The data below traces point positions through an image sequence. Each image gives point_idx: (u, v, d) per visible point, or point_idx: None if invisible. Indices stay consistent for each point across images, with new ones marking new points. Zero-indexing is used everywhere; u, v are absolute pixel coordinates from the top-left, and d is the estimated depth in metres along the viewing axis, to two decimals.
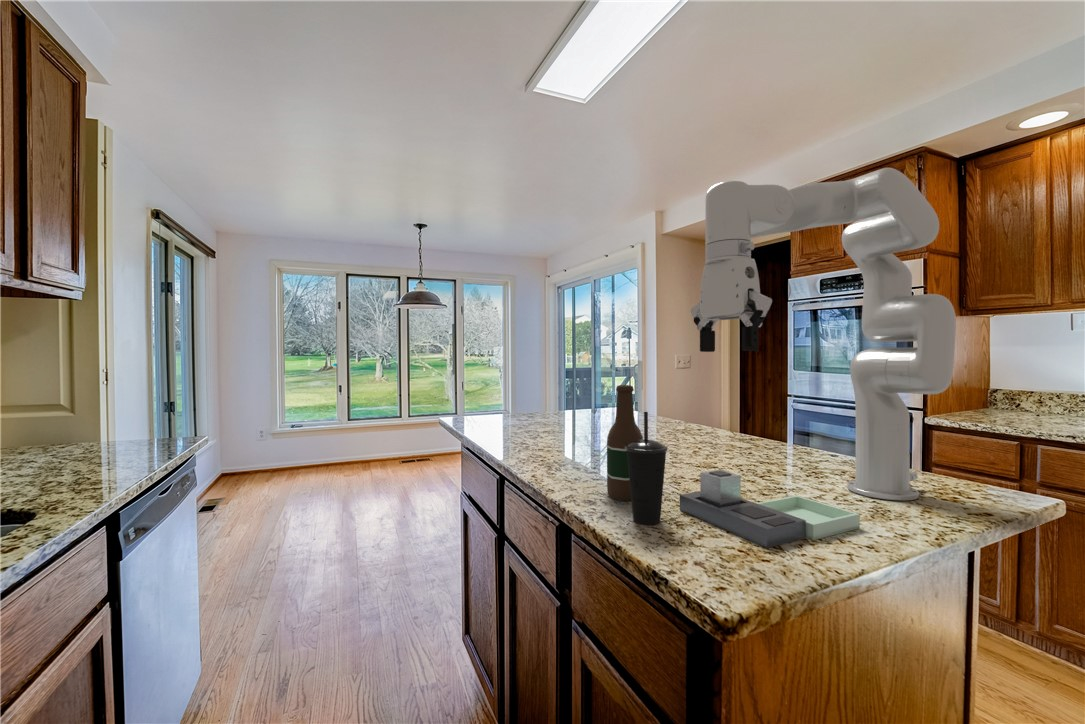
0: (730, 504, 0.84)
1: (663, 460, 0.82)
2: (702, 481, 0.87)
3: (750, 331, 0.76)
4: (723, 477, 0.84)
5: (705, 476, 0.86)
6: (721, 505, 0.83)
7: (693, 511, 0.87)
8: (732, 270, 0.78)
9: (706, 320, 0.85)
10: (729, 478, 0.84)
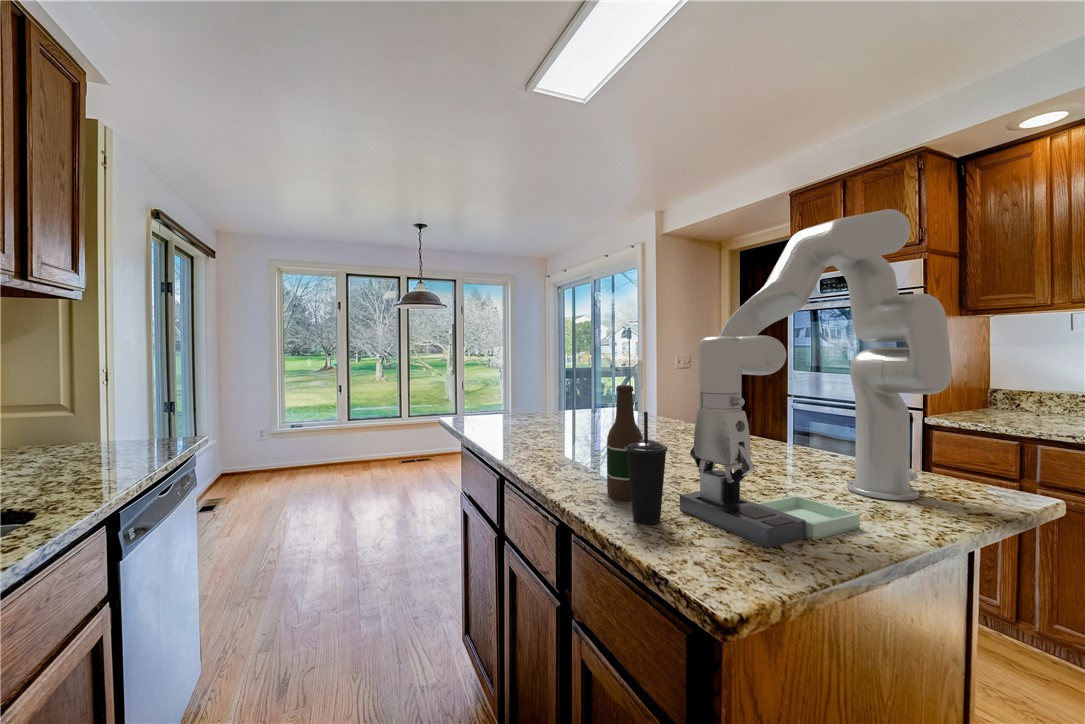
0: (730, 504, 0.84)
1: (663, 460, 0.82)
2: (702, 481, 0.87)
3: (732, 487, 0.83)
4: (723, 476, 0.84)
5: (705, 476, 0.86)
6: (721, 505, 0.83)
7: (693, 511, 0.87)
8: (723, 423, 0.83)
9: (705, 463, 0.88)
10: None
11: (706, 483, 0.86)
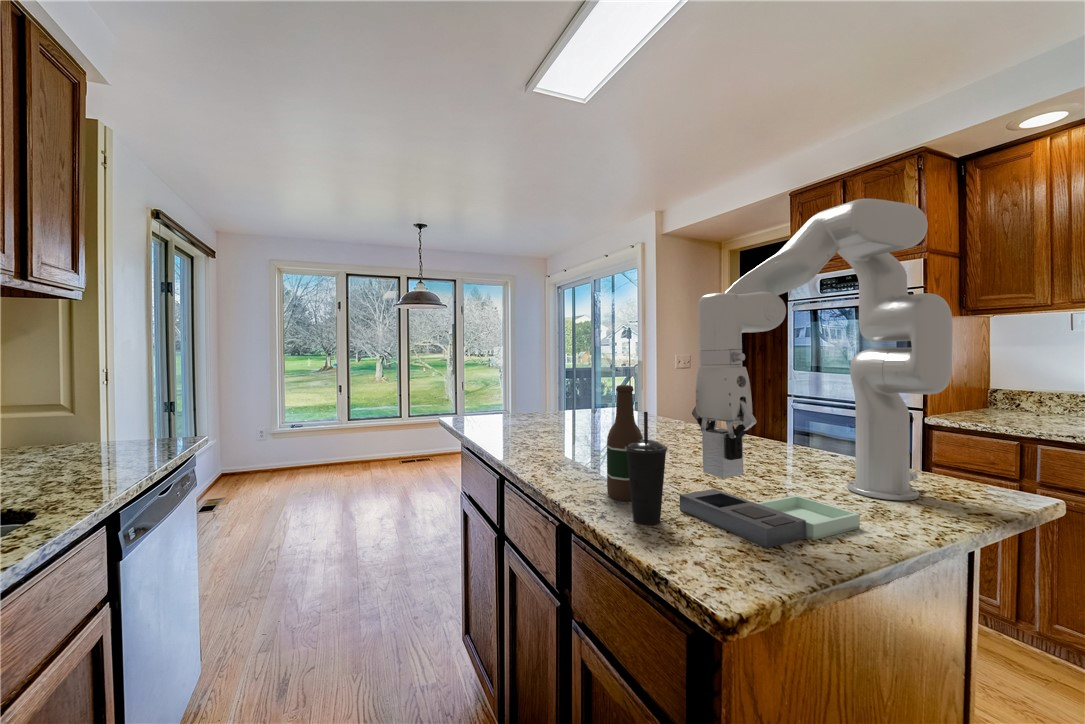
0: (732, 460, 0.84)
1: (663, 460, 0.82)
2: (704, 439, 0.87)
3: (734, 442, 0.83)
4: (725, 433, 0.84)
5: (707, 434, 0.87)
6: (723, 461, 0.83)
7: (693, 511, 0.87)
8: (724, 379, 0.83)
9: (707, 421, 0.88)
10: None
11: (708, 441, 0.86)
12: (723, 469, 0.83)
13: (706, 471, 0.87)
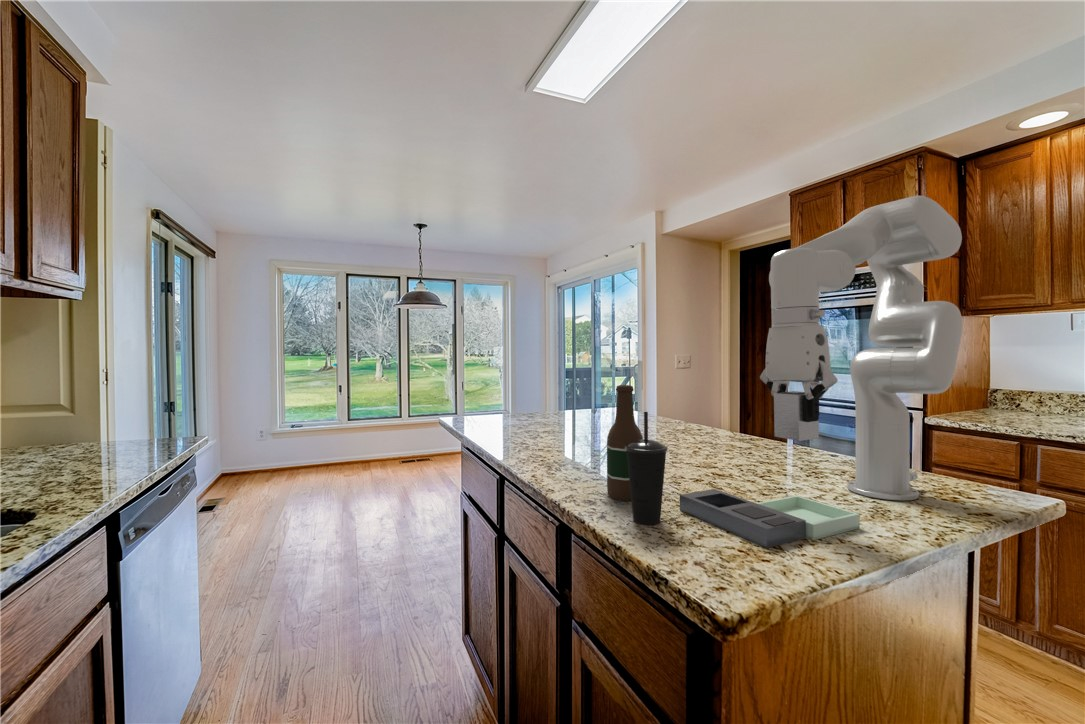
0: (808, 422, 0.81)
1: (663, 460, 0.82)
2: (776, 402, 0.84)
3: (811, 403, 0.80)
4: (800, 394, 0.81)
5: (780, 396, 0.83)
6: (799, 423, 0.80)
7: (693, 511, 0.87)
8: (802, 337, 0.79)
9: (779, 384, 0.85)
10: None
11: (781, 403, 0.83)
12: (799, 431, 0.80)
13: (778, 435, 0.84)
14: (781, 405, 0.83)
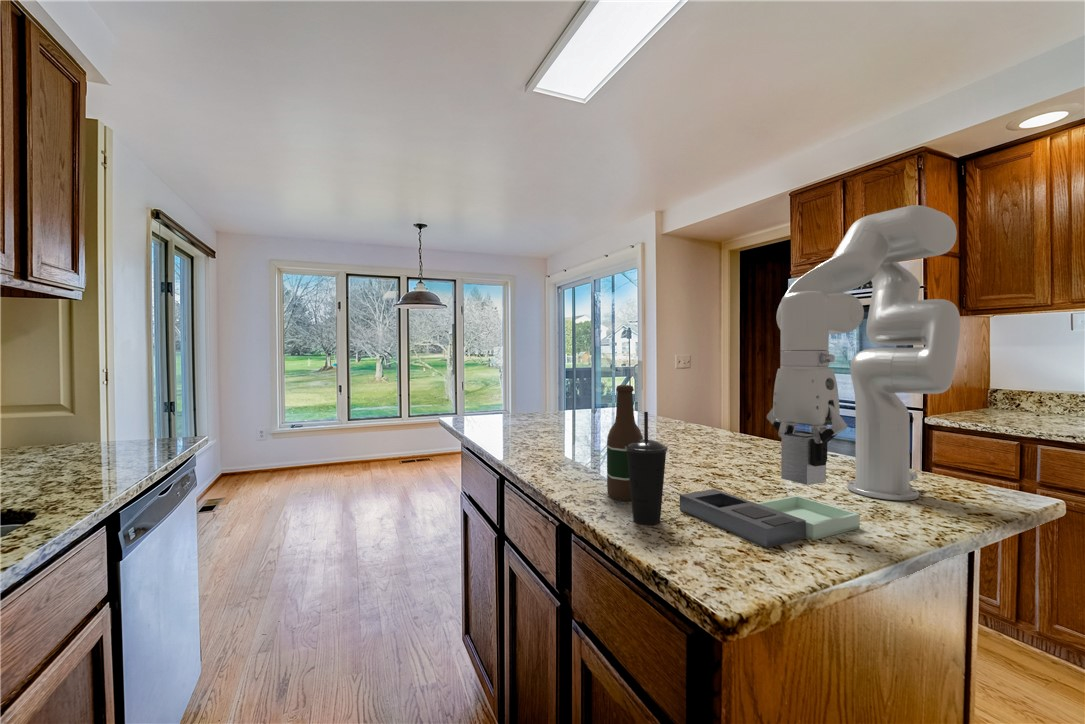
0: (816, 466, 0.80)
1: (663, 460, 0.82)
2: (784, 443, 0.83)
3: (819, 448, 0.79)
4: (809, 437, 0.80)
5: (788, 438, 0.83)
6: (808, 467, 0.79)
7: (693, 511, 0.87)
8: (811, 381, 0.79)
9: (786, 425, 0.84)
10: None
11: (789, 445, 0.82)
12: (807, 475, 0.79)
13: (785, 477, 0.83)
14: (789, 447, 0.82)
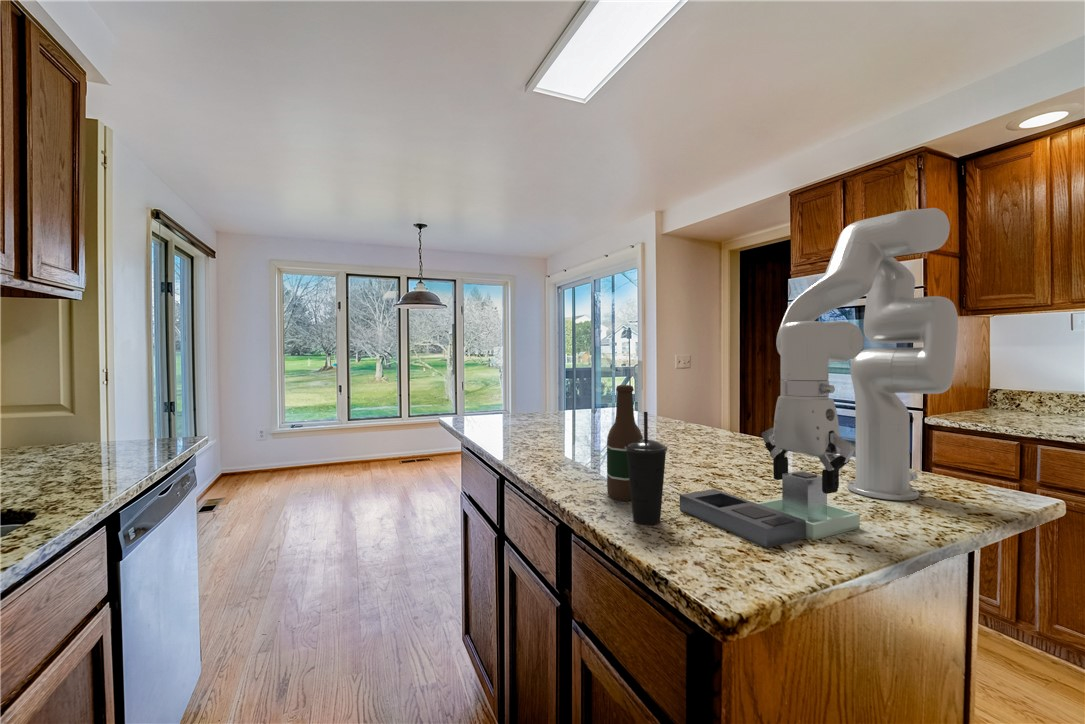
0: (817, 507, 0.81)
1: (663, 460, 0.82)
2: (784, 483, 0.84)
3: (831, 475, 0.78)
4: (810, 478, 0.81)
5: (789, 478, 0.83)
6: (808, 508, 0.80)
7: (693, 511, 0.87)
8: (812, 411, 0.79)
9: (780, 450, 0.86)
10: (816, 480, 0.81)
11: (790, 485, 0.83)
12: (808, 516, 0.80)
13: None
14: (790, 487, 0.83)
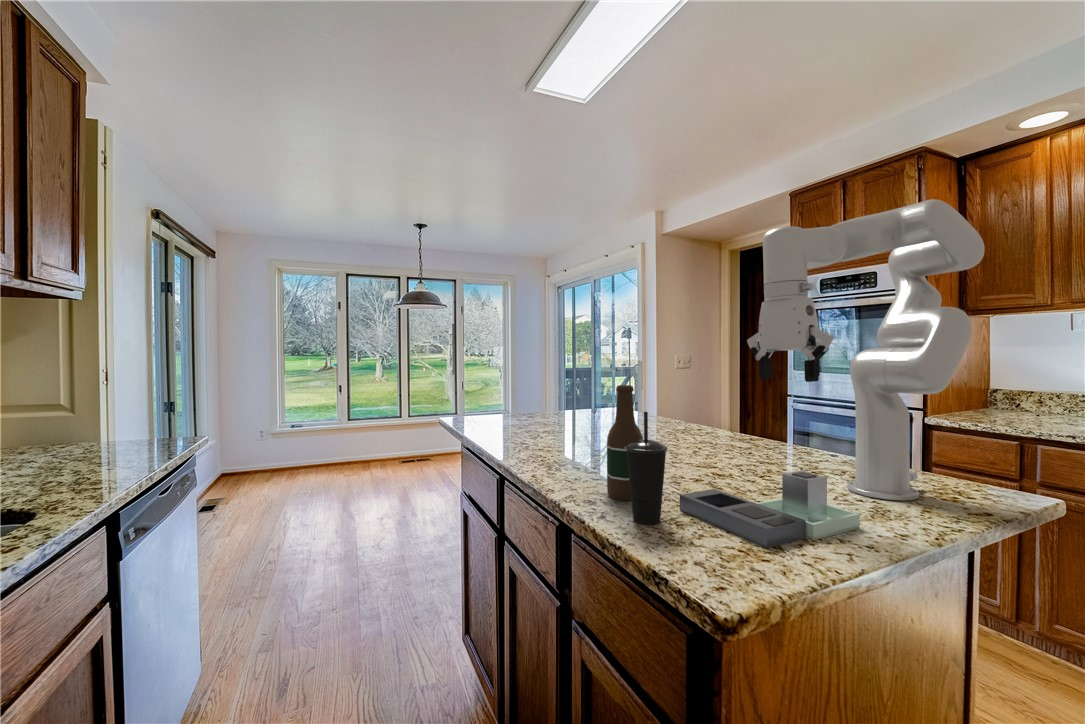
0: (817, 507, 0.81)
1: (663, 460, 0.82)
2: (784, 483, 0.84)
3: (812, 364, 0.85)
4: (810, 478, 0.81)
5: (789, 478, 0.83)
6: (808, 508, 0.80)
7: (693, 511, 0.87)
8: (793, 308, 0.86)
9: (765, 351, 0.93)
10: (816, 480, 0.81)
11: (790, 485, 0.83)
12: (808, 516, 0.80)
13: None
14: (790, 487, 0.83)
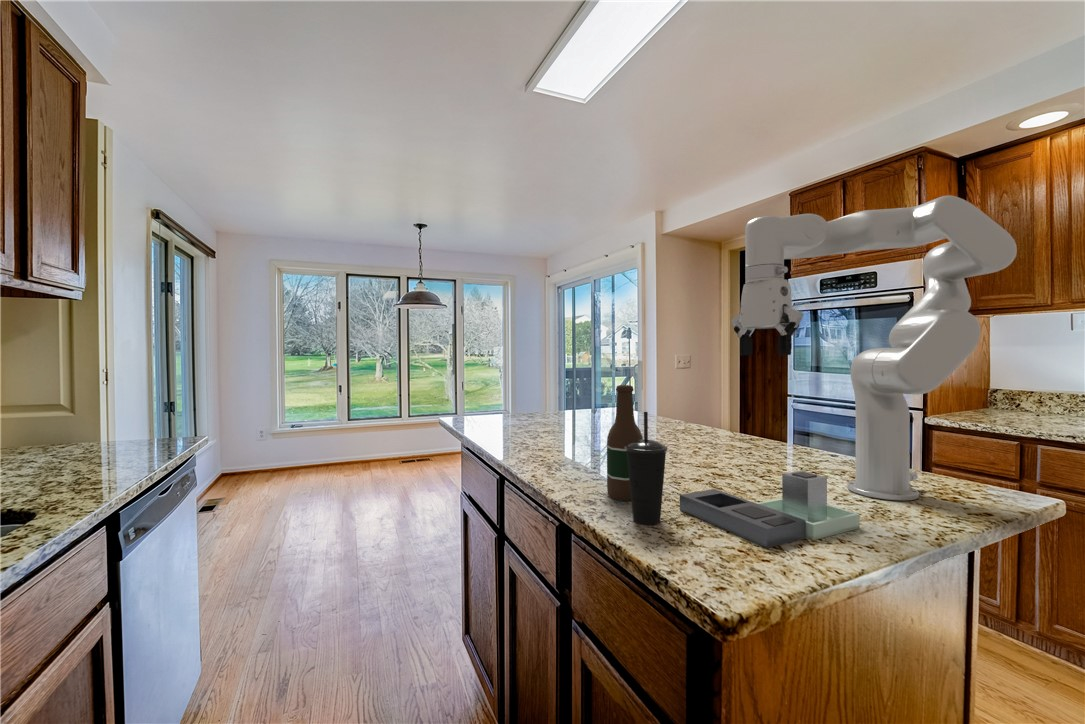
0: (817, 507, 0.81)
1: (663, 460, 0.82)
2: (784, 483, 0.84)
3: (785, 339, 0.94)
4: (810, 478, 0.81)
5: (789, 478, 0.83)
6: (808, 508, 0.80)
7: (693, 511, 0.87)
8: (769, 289, 0.96)
9: (745, 329, 1.03)
10: (816, 480, 0.81)
11: (790, 485, 0.83)
12: (808, 516, 0.80)
13: None
14: (790, 487, 0.83)
